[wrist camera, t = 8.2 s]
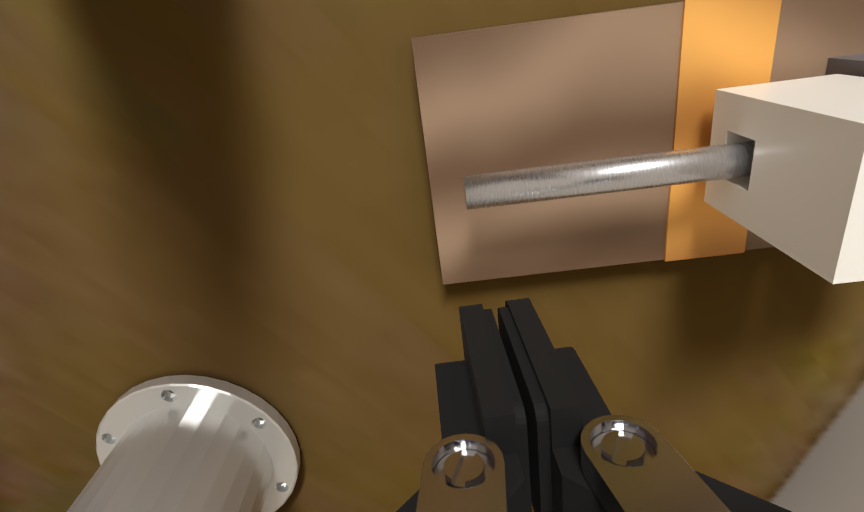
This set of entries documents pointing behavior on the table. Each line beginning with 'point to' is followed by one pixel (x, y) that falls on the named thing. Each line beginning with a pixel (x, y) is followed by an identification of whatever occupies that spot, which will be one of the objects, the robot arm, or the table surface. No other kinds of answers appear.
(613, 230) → the board
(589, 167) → the metal rod
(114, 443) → the robot arm
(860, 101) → the sleeve
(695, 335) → the table surface
